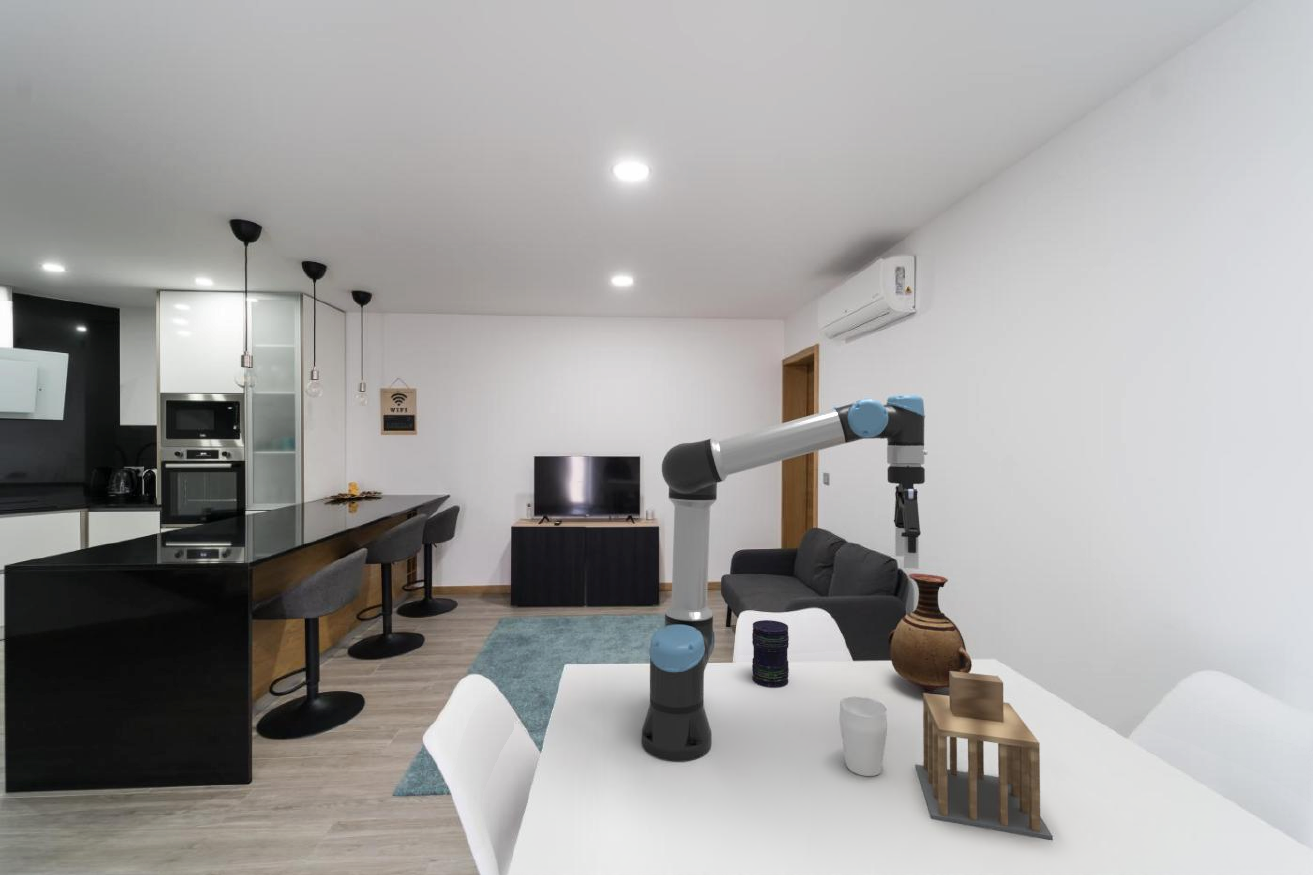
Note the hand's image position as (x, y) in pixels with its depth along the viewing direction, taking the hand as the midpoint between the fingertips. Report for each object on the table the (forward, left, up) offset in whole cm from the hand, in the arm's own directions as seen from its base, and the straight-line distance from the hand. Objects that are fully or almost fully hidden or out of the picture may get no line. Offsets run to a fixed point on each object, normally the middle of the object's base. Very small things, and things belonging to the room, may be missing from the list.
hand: (906, 562), depth 122 cm
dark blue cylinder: (-31, +23, -39) cm, 55 cm away
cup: (-10, -14, -39) cm, 43 cm away
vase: (+9, +29, -39) cm, 49 cm away
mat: (+9, -19, -39) cm, 44 cm away
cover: (+9, -19, -38) cm, 43 cm away
